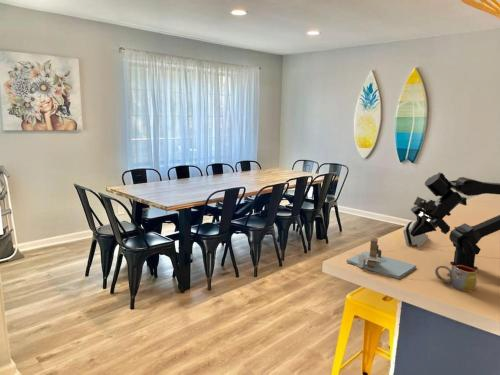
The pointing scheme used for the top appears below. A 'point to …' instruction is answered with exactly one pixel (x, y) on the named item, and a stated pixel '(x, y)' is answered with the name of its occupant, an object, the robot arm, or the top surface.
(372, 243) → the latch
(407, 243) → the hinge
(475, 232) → the robot arm
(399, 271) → the board
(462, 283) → the mug
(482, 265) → the top surface
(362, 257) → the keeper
